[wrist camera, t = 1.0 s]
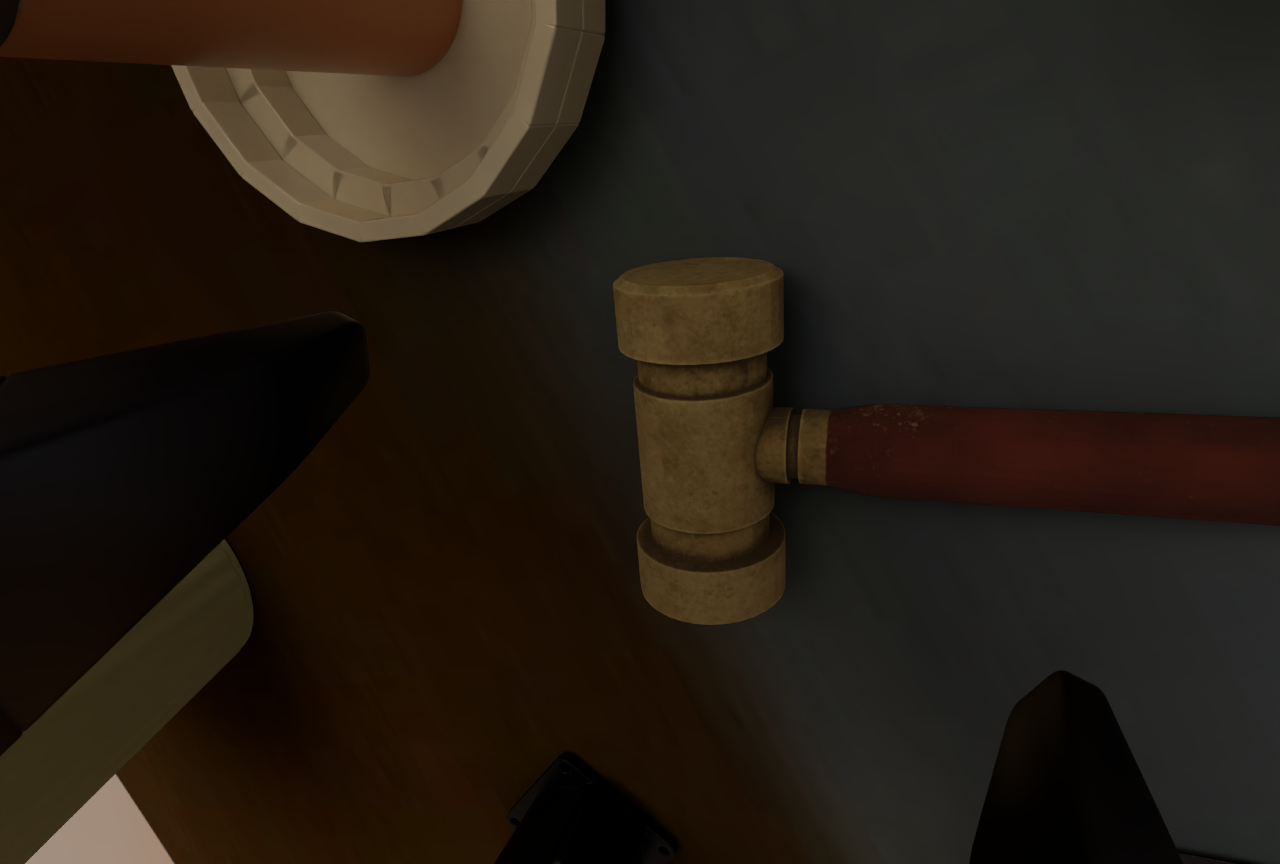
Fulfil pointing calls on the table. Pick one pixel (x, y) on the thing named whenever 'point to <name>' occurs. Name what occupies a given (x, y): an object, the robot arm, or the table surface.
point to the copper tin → (237, 33)
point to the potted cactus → (122, 703)
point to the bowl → (411, 123)
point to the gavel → (868, 445)
